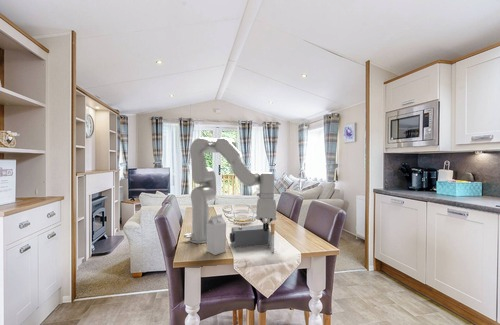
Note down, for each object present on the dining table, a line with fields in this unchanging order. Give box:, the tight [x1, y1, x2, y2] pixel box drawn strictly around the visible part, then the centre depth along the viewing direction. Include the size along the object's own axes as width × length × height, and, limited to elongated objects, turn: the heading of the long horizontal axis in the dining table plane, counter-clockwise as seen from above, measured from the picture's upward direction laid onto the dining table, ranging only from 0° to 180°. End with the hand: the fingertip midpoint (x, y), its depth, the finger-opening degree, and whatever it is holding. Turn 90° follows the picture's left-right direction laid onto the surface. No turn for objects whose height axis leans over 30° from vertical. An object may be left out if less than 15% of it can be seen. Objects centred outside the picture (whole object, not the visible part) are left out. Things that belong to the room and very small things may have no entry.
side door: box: [268, 222, 276, 253], centre depth 144 cm, size 12×2×14 cm, turn 3°
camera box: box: [229, 224, 271, 249], centre depth 151 cm, size 22×8×10 cm, turn 109°
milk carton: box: [206, 213, 227, 256], centre depth 138 cm, size 7×7×19 cm
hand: (265, 230), depth 140 cm, fingers closed
